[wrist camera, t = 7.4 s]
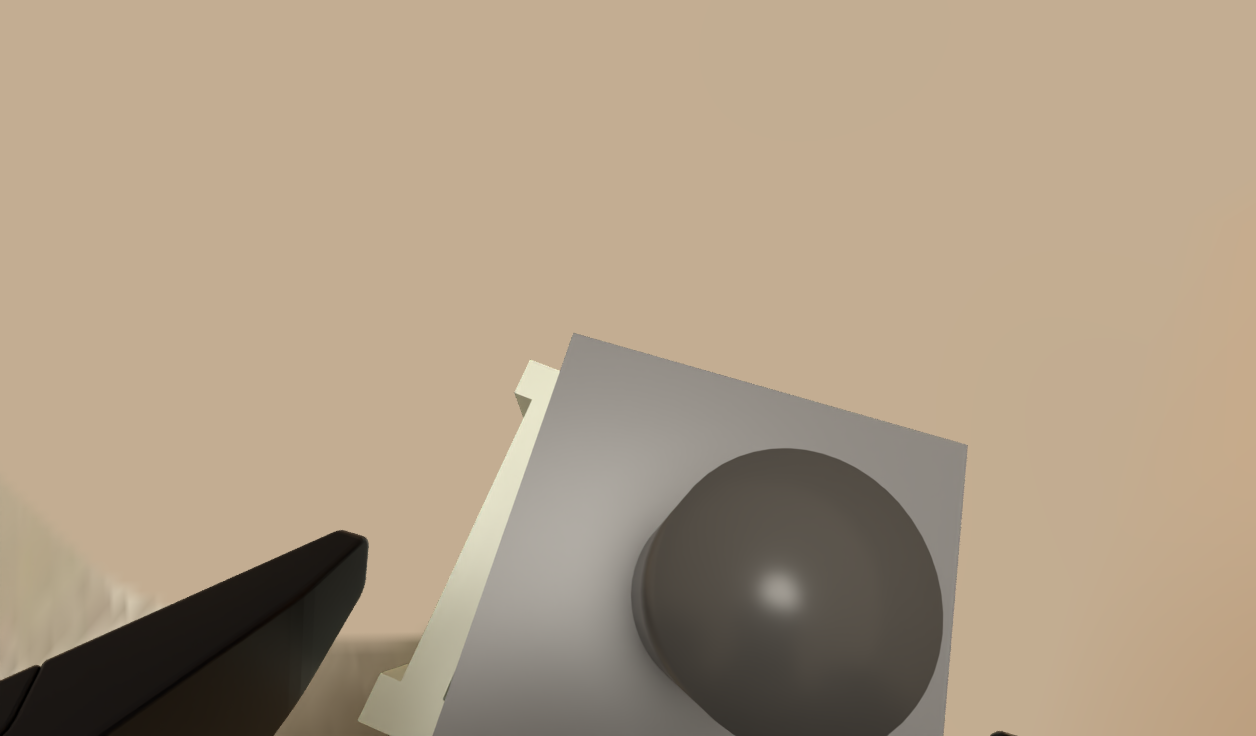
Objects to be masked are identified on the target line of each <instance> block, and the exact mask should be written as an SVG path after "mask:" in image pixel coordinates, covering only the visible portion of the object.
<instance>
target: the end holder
mask: <svg viewBox="0 0 1256 736" xmlns="http://www.w3.org/2000/svg"><path fill="white" fill-rule="evenodd" d="M559 373H560V371H559V370H556V369H554V368H551V367H548V366H546V365H543V364H541V363H538V362H535V361H532V360H530V362H529V364H528V366H527V368H526V370H525V372H524V374H523V376H522V378H521V380H520V382H519V385H518V387H517V389H516V391H515V396H516V398H517V401H518V404H519V406H520V409H521V412H522V415H523V420H522V423H521V425H520V427H519V429H518V432H517V433H516V436H515V438H514V440H513V442H512V444H511V446H510V449H509V451H508V453H507V455H506V457H505V459H504V461H503V463H502V466H501V468H500V470H499V472H498V474H497V476H496V478H495V481H494V483H493V485H492V487H491V489H490V491H489V494H488V496H487V498H486V500H485V502H484V505H483V506H482V509H481V511H480V513H479V515H478V517H477V519H476V522H475V524H474V526H473V528H472V530H471V532H470V534H469V537H468V539H467V541H466V543H465V545H464V547H463V550H462V552H461V554H460V556H459V558H458V560H457V562H456V564H455V567H454V569H453V571H452V573H451V575H450V577H449V580H448V582H447V584H446V586H445V588H444V590H443V592H442V595H441V597H440V599H439V601H438V603H437V605H436V607H435V610H434V612H433V614H432V616H431V618H430V620H429V622H428V625H427V627H426V629H425V631H424V633H423V635H422V638H421V640H420V642H419V644H418V646H417V648H416V650H415V653H414V655H413V657H412V659H411V661H410V663H409V664H406V665H403V666H400V667H397V668H394V669H390V670H387V671H384V672H381V673H380V675H379V677H378V679H377V681H376V683H375V685H374V687H373V689H372V691H371V693H370V696H369V698H368V700H367V702H366V704H365V706H364V708H363V710H362V712H361V714H360V716H359V719H358V722H360V723H362V724H365V725H367V726H369V727H371V728H374V729H376V730H378V731H380V732H383V733H385V734H387V735H390V736H433V733H434V730H435V727H436V724H437V721H438V718H439V716H440V713H441V710H442V707H443V704H444V701H445V698H446V696H447V693H448V690H449V687H450V684H451V681H452V678H453V676H454V673H455V670H456V667H457V664H458V661H459V658H460V656H461V653H462V650H463V647H464V644H465V641H466V638H467V636H468V633H469V630H470V627H471V624H472V621H473V618H474V616H475V613H476V610H477V607H478V604H479V601H480V598H481V595H482V593H483V590H484V587H485V584H486V581H487V578H488V575H489V573H490V570H491V567H492V564H493V561H494V558H495V555H496V553H497V550H498V547H499V544H500V541H501V538H502V535H503V533H504V530H505V527H506V524H507V521H508V518H509V515H510V513H511V510H512V507H513V504H514V501H515V498H516V495H517V493H518V490H519V487H520V484H521V481H522V478H523V475H524V473H525V470H526V467H527V464H528V461H529V458H530V455H531V453H532V450H533V447H534V444H535V441H536V438H537V435H538V433H539V430H540V427H541V424H542V421H543V418H544V415H545V413H546V410H547V407H548V404H549V401H550V398H551V395H552V393H553V390H554V387H555V384H556V381H557V378H558V375H559Z"/></svg>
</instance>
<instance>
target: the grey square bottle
mask: <svg viewBox="0 0 1256 736" xmlns="http://www.w3.org/2000/svg"><path fill="white" fill-rule="evenodd" d="M967 446H968V445H965V444H962V443H958V442H955V441H951V440H948V439H944V438H941V437H937V436H934V435H930V434H927V433H923V432H920V431H916V430H913V429H909V428H906V427H902V426H899V425H895V424H892V423H888V422H885V421H881V420H878V419H874V418H871V417H867V416H864V415H860V414H857V413H853V412H850V411H846V410H843V409H839V408H835V407H832V406H828V405H825V404H821V403H818V402H814V401H811V400H807V399H804V398H800V397H797V396H794V395H790V394H786V393H783V392H779V391H776V390H772V389H768V388H765V387H762V386H758V385H755V384H751V383H747V382H744V381H741V380H737V379H734V378H730V377H727V376H723V375H720V374H716V373H713V372H709V371H706V370H702V369H699V368H695V367H692V366H688V365H685V364H681V363H677V362H674V361H670V360H667V359H664V358H660V357H657V356H653V355H650V354H646V353H643V352H639V351H635V350H632V349H628V348H625V347H621V346H618V345H614V344H611V343H607V342H603V341H600V340H597V339H593V338H590V337H586V336H583V335H579V334H576V333H573V336H572V338H571V341H570V344H569V347H568V350H567V353H566V356H565V358H564V361H563V364H562V367H561V370H560V373H559V375H558V378H557V381H556V384H555V387H554V390H553V393H552V395H551V398H550V401H549V404H548V407H547V410H546V413H545V415H544V418H543V421H542V424H541V427H540V430H539V433H538V435H537V438H536V441H535V444H534V447H533V450H532V453H531V455H530V458H529V461H528V464H527V467H526V470H525V473H524V475H523V478H522V481H521V484H520V487H519V490H518V493H517V495H516V498H515V501H514V504H513V507H512V510H511V513H510V515H509V518H508V521H507V524H506V527H505V530H504V533H503V535H502V538H501V541H500V544H499V547H498V550H497V553H496V555H495V558H494V561H493V564H492V567H491V570H490V573H489V575H488V578H487V581H486V584H485V587H484V590H483V593H482V595H481V598H480V601H479V604H478V607H477V610H476V613H475V616H474V618H473V621H472V624H471V627H470V630H469V633H468V636H467V638H466V641H465V644H464V647H463V650H462V653H461V656H460V658H459V661H458V664H457V667H456V670H455V673H454V676H453V678H452V681H451V684H450V687H449V690H448V693H447V696H446V698H445V701H444V704H443V707H442V710H441V713H440V716H439V718H438V721H437V724H436V727H435V730H434V733H433V736H943V733H944V721H945V708H946V696H947V685H948V674H949V662H950V650H951V638H952V625H953V614H954V613H953V612H954V601H955V589H956V577H957V566H958V554H959V542H960V530H961V519H962V506H963V495H964V494H963V493H964V482H965V470H966V459H967Z"/></svg>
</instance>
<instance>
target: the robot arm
mask: <svg viewBox="0 0 1256 736" xmlns="http://www.w3.org/2000/svg"><path fill="white" fill-rule="evenodd" d="M368 548H369V546H368V540H367V539H366V538H365V537H364V536H361V535H358V534H354V533H351V532H347V531H344V530H339V531H336V532H333V533H330V534H328V535H326V536H324V537H321V538H319V539H317V540H315V541H313V542H310V543H308V544H306V545H304V546H302V547H299V548H297V549H295V550H292V551H290V552H288V553H286V554H283V555H281V556H279V557H277V558H274V559H272V560H270V561H268V562H265V563H263V564H261V565H259V566H256V567H254V568H252V569H250V570H248V571H246V572H243V573H241V574H239V575H236V576H234V577H232V578H230V579H227V580H225V581H223V582H221V583H218V584H216V585H214V586H212V587H209V588H207V589H205V590H203V591H200V592H198V593H196V594H194V595H191V596H189V597H187V598H185V599H183V600H180V601H178V602H176V603H174V604H171V605H169V606H167V607H165V608H162V609H160V610H158V611H156V612H153V613H151V614H149V615H147V616H144V617H142V618H140V619H138V620H135V621H133V622H131V623H129V624H126V625H124V626H122V627H120V628H118V629H115V630H113V631H111V632H109V633H106V634H104V635H102V636H100V637H97V638H95V639H93V640H91V641H88V642H86V643H84V644H82V645H79V646H77V647H75V648H73V649H70V650H68V651H66V652H64V653H61V654H59V655H57V656H55V657H53V658H50V659H48V660H46V661H45V662H44V663H43V664H42V666H41V667H40V666H39V665H34V666H32V667H30V668H27V669H25V670H23V671H21V672H18V673H16V674H14V675H12V676H9V677H7V678H5V679H3V680H0V736H274V734H275V733H276V732H277V730H278V729H279V728H280V726H281V725H282V723H283V722H284V721H285V719H286V718H287V717H288V715H289V714H290V712H291V711H292V709H293V708H294V707H295V705H296V704H297V702H298V701H299V699H300V698H301V696H302V695H303V693H304V691H305V690H306V688H307V686H308V685H309V683H310V681H311V680H312V678H313V676H314V675H315V673H316V671H317V670H318V668H319V666H320V664H321V663H322V661H323V659H324V658H325V656H326V654H327V652H328V651H329V649H330V647H331V646H332V644H333V642H334V640H335V639H336V637H337V635H338V634H339V632H340V630H341V628H342V627H343V625H344V623H345V622H346V620H347V618H348V616H349V615H350V613H351V611H352V610H353V608H354V606H355V605H356V603H357V601H358V599H359V598H360V596H361V593H362V591H363V588H364V585H365V580H366V570H367V559H368ZM990 736H1016V735H1012V734H1009V733H1006V732H1003V731H997V732H995V733H993V734H991V735H990Z"/></svg>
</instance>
